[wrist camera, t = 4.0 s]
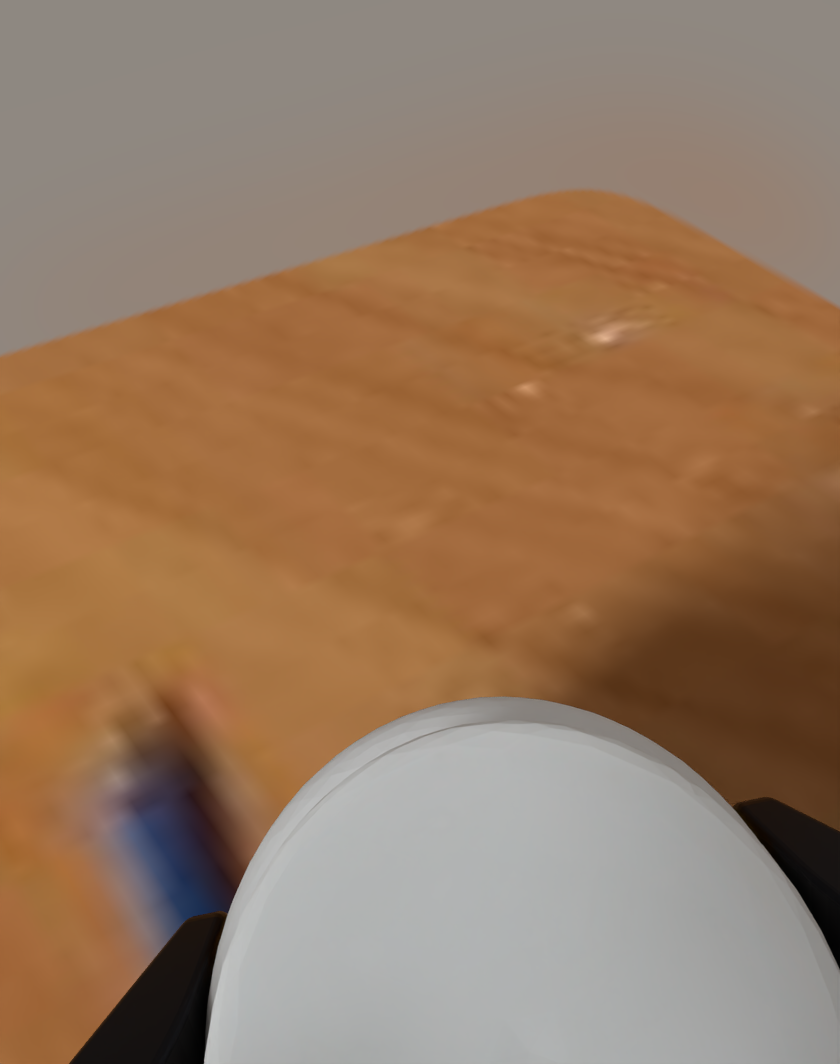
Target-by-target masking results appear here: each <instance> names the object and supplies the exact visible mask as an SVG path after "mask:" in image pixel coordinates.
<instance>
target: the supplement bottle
mask: <svg viewBox="0 0 840 1064" xmlns="http://www.w3.org/2000/svg"><path fill="white" fill-rule="evenodd" d="M204 1064H840V969H839V967H838V965H837V963H836V961H835V958H834V956H833V954H832V952H831V950H830V948H829V946H828V944H827V942H826V940H825V937H824V935H823V933H822V931H821V929H820V928H819V926H818V924H817V923H816V921H815V919H814V918H813V916H812V914H811V912H810V911H809V909H808V907H807V906H806V904H805V902H804V901H803V899H802V897H801V896H800V894H799V893H798V891H797V889H796V888H795V887H794V885H793V884H792V883H791V881H790V880H789V879H788V877H787V876H786V875H785V874H784V872H783V871H782V870H781V868H780V867H779V866H778V864H777V863H776V862H775V860H774V859H773V858H772V856H771V855H770V854H769V852H768V851H767V850H766V848H765V847H764V846H763V845H762V844H761V843H760V841H759V840H758V839H757V837H756V836H755V835H754V833H753V832H752V831H751V830H750V828H749V827H748V826H747V825H746V823H745V822H744V821H743V820H742V818H741V817H740V816H739V815H738V813H737V812H736V811H735V810H734V809H733V808H732V807H731V806H730V805H729V804H728V803H727V802H726V801H725V800H724V798H723V797H722V796H721V795H720V794H719V793H718V792H717V791H716V790H715V789H714V788H713V787H711V786H710V785H709V784H708V783H707V782H706V781H705V780H704V779H703V778H702V777H701V776H700V775H698V774H697V773H696V772H695V771H694V770H693V769H691V768H690V767H689V766H688V765H687V764H685V763H684V762H683V761H682V760H680V759H679V758H677V757H676V756H674V755H673V754H671V753H670V752H668V751H667V750H665V749H664V748H662V747H661V746H659V745H658V744H656V743H655V742H653V741H652V740H650V739H648V738H646V737H644V736H643V735H641V734H639V733H637V732H635V731H633V730H632V729H630V728H628V727H626V726H624V725H621V724H619V723H617V722H615V721H612V720H610V719H608V718H605V717H603V716H600V715H598V714H595V713H592V712H589V711H586V710H582V709H579V708H576V707H572V706H568V705H564V704H559V703H555V702H550V701H546V700H538V699H529V698H519V697H479V698H473V699H466V700H459V701H454V702H449V703H444V704H439V705H436V706H433V707H429V708H426V709H423V710H419V711H416V712H414V713H411V714H408V715H405V716H403V717H400V718H398V719H396V720H394V721H392V722H390V723H388V724H386V725H383V726H381V727H379V728H377V729H376V730H374V731H372V732H371V733H369V734H367V735H366V736H364V737H362V738H361V739H359V740H358V741H356V742H354V743H353V744H352V745H350V746H349V747H347V748H346V749H345V750H343V751H342V752H341V753H339V754H338V755H336V756H335V757H334V758H333V759H332V760H331V761H330V762H329V763H327V764H326V765H325V766H324V767H323V768H322V769H321V770H320V771H319V772H317V773H316V774H315V775H314V776H313V777H312V778H311V779H310V780H309V781H308V782H307V783H306V784H304V786H303V787H302V788H301V789H300V790H299V791H298V793H297V794H296V795H295V796H294V797H293V799H292V800H291V801H290V802H289V803H288V805H287V806H286V807H285V808H284V810H283V811H282V812H281V814H280V815H279V817H278V818H277V820H276V821H275V822H274V824H273V825H272V827H271V828H270V830H269V831H268V833H267V834H266V836H265V837H264V839H263V841H262V842H261V844H260V846H259V848H258V849H257V851H256V853H255V855H254V856H253V858H252V860H251V862H250V863H249V866H248V868H247V870H246V872H245V874H244V876H243V879H242V881H241V883H240V885H239V887H238V890H237V892H236V894H235V897H234V899H233V902H232V905H231V907H230V910H229V913H228V915H227V918H226V922H225V925H224V929H223V932H222V935H221V939H220V942H219V945H218V949H217V954H216V958H215V963H214V967H213V973H212V979H211V985H210V990H209V996H208V1004H207V1017H206V1029H205V1058H204Z"/></svg>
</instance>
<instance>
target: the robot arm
mask: <svg viewBox="0 0 840 1064" xmlns="http://www.w3.org/2000/svg"><path fill="white" fill-rule="evenodd" d="M732 808H733V809H734V810H735V811H736V812H737V813H738V815H739V816H740V817H741V818H742V820H743V821H744V822H745V823H746V825H747V826H748V827H749V828H750V830H751V831H752V832H753V833H754V835H755V836H756V837H757V839H758V840H759V841H760V843H761V844H762V845H763V846H764V847H765V848H766V850H767V851H768V852H769V854H770V855H771V856H772V858H773V859H774V860H775V862H776V863H777V864H778V866H779V867H780V868H781V870H782V871H783V872H784V874H785V875H786V876H787V877H788V879H789V880H790V881H791V883H792V884H793V885H794V887H795V888H796V889H797V891H798V893H799V894H800V896H801V897H802V899H803V901H804V902H805V904H806V906H807V907H808V909H809V911H810V912H811V914H812V916H813V918H814V919H815V921H816V923H817V924H818V926H819V928H820V929H821V931H822V933H823V935H824V937H825V940H826V942H827V944H828V946H829V948H830V950H831V952H832V954H833V956H834V958H835V961H836V963H837V965H838V967H839V969H840V832H839V831H837V830H835V829H833V828H831V827H829V826H827V825H825V824H823V823H821V822H819V821H817V820H815V819H813V818H811V817H809V816H807V815H805V814H803V813H801V812H799V811H797V810H795V809H793V808H791V807H789V806H787V805H785V804H783V803H781V802H779V801H777V800H775V799H773V798H769V797H763V798H758V799H753V800H748V801H744V802H739V803H736V804H735V805H734V806H733V807H732ZM226 918H227V913H225V912H222V911H217V912H213V913H208V914H203V915H198V916H193V917H191V918H189V919H187V920H186V921H185V922H184V923H183V924H182V925H181V926H180V928H179V929H178V930H177V931H176V933H175V934H174V935H173V936H172V937H171V939H170V940H169V941H168V942H167V944H166V945H165V946H164V947H163V949H162V950H161V951H160V952H159V953H158V955H157V956H156V957H155V958H154V960H153V961H152V962H151V963H150V965H149V966H148V967H147V968H146V969H145V971H144V972H143V973H142V974H141V976H140V977H139V978H138V979H137V981H136V982H135V983H134V984H133V985H132V987H131V988H130V989H129V990H128V992H127V993H126V994H125V995H124V997H123V998H122V999H121V1000H120V1001H119V1003H118V1004H117V1005H116V1006H115V1008H114V1009H113V1010H112V1011H111V1013H110V1014H109V1015H108V1016H107V1017H106V1019H105V1020H104V1021H103V1022H102V1024H101V1025H100V1026H99V1027H98V1029H97V1030H96V1031H95V1032H94V1033H93V1035H92V1036H91V1037H90V1038H89V1040H88V1041H87V1042H86V1043H85V1045H84V1046H83V1047H82V1048H81V1049H80V1051H79V1052H78V1053H77V1054H76V1056H75V1057H74V1058H73V1059H72V1061H71V1062H70V1063H69V1064H204V1058H205V1029H206V1017H207V1004H208V996H209V990H210V985H211V979H212V973H213V967H214V963H215V958H216V954H217V949H218V945H219V942H220V939H221V935H222V932H223V929H224V925H225V922H226Z"/></svg>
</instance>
